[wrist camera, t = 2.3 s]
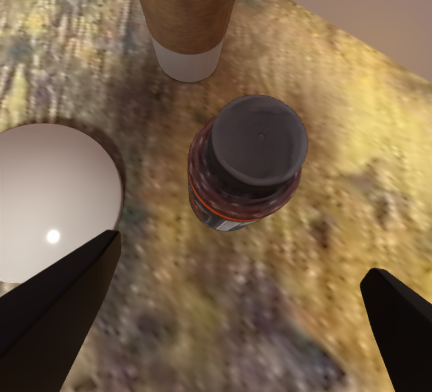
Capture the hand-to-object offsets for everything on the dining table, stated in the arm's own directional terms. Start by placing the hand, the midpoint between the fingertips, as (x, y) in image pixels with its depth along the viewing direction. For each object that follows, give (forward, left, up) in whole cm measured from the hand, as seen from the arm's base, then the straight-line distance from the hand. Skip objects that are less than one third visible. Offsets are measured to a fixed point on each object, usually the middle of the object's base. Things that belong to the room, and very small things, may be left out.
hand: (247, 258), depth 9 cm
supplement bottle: (+4, +2, -11) cm, 12 cm away
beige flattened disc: (-5, +13, -11) cm, 18 cm away
